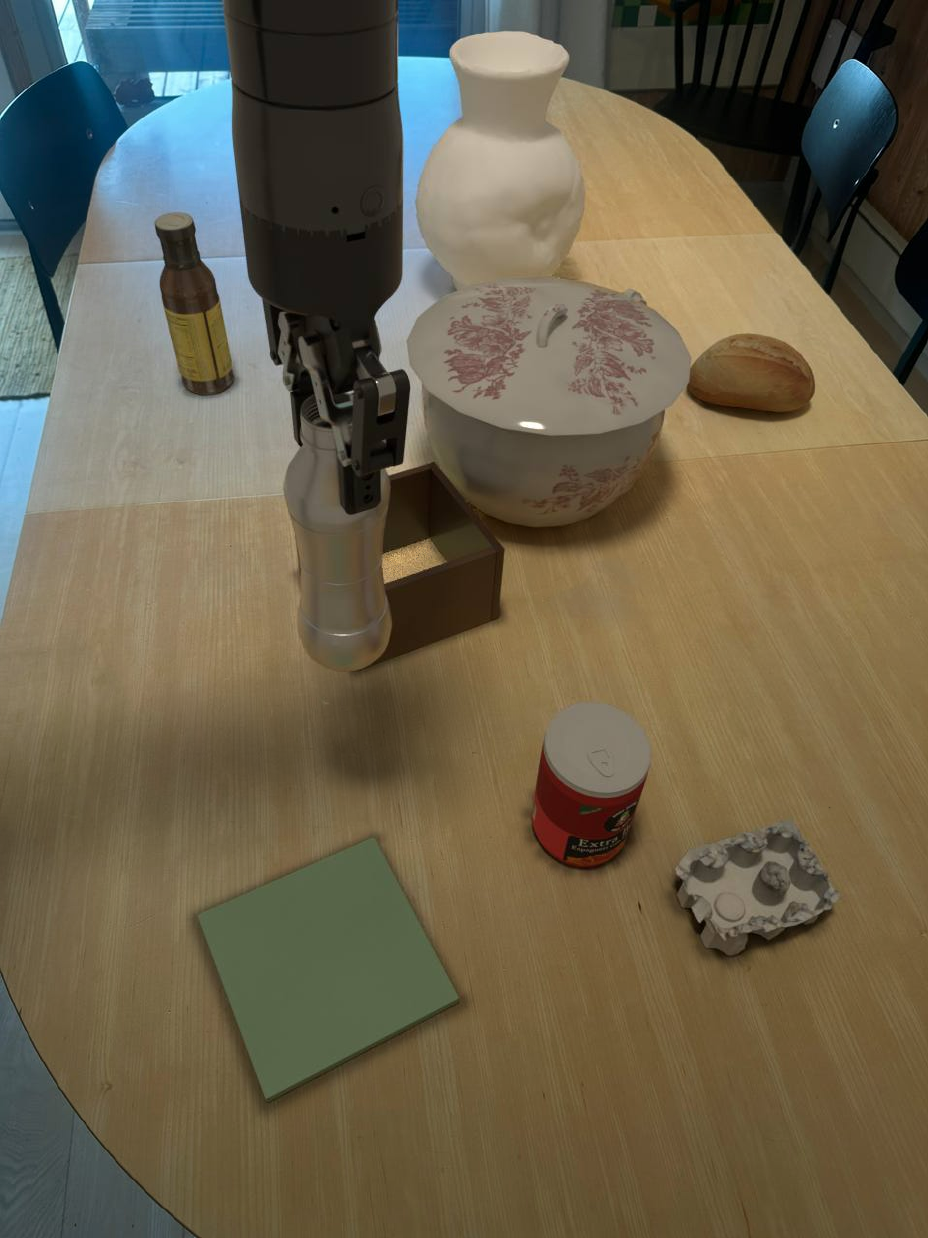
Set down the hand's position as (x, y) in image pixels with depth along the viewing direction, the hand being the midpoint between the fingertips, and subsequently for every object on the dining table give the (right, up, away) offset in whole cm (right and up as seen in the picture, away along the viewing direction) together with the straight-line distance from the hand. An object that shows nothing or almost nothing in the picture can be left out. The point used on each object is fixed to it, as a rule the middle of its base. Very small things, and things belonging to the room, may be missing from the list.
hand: (336, 473), depth 57 cm
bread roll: (+42, +18, +61) cm, 76 cm away
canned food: (+17, -25, +20) cm, 36 cm away
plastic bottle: (-1, -11, +12) cm, 16 cm away
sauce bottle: (-23, +20, +59) cm, 67 cm away
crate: (+1, -6, +36) cm, 37 cm away
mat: (-2, -33, +12) cm, 35 cm away
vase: (+11, +37, +77) cm, 86 cm away
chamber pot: (+15, +6, +49) cm, 52 cm away
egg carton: (+29, -30, +17) cm, 45 cm away
